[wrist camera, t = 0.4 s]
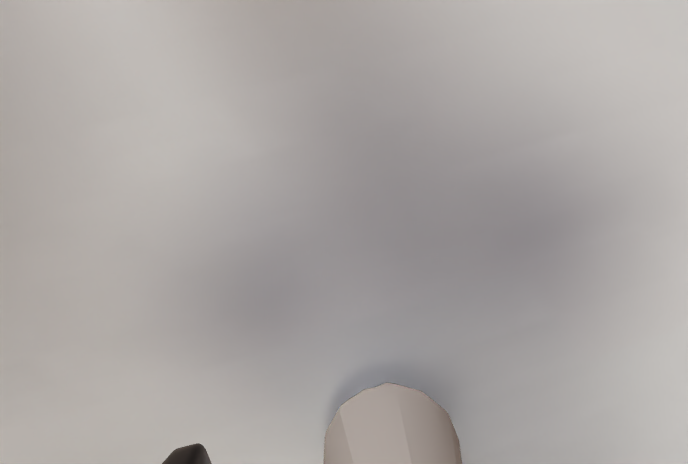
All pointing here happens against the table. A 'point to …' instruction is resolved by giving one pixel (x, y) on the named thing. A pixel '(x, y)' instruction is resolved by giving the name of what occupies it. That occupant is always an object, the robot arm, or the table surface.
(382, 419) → the salt shaker
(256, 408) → the table surface
